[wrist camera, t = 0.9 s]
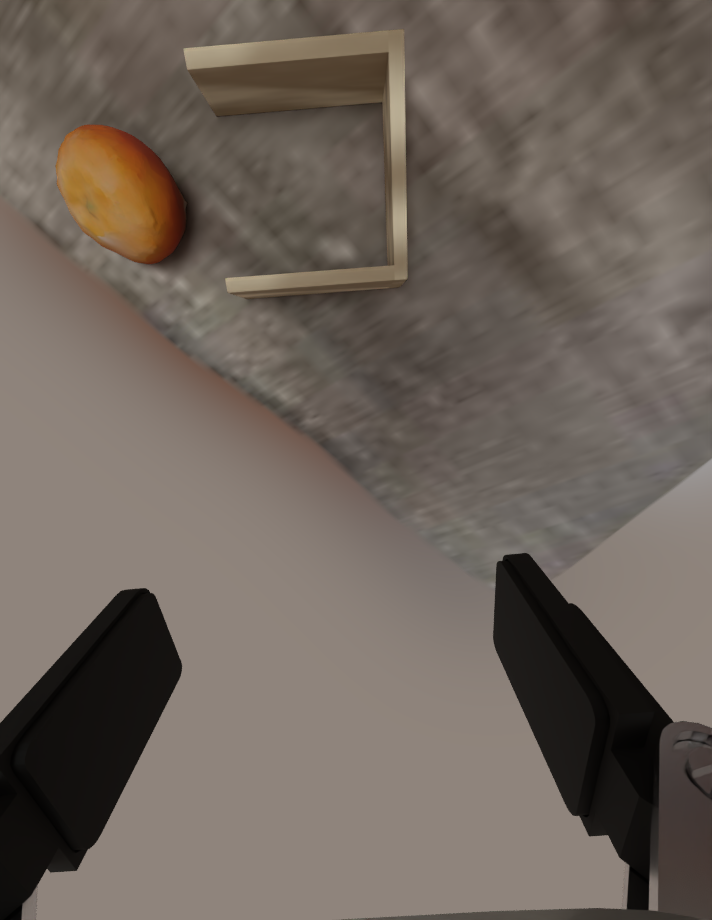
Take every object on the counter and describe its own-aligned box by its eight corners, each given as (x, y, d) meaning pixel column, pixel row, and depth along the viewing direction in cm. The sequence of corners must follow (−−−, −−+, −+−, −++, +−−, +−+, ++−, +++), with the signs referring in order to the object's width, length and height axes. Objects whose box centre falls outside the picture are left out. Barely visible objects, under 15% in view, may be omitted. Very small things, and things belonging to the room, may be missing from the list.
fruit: (223, 183, 27) (147, 197, 22) (198, 265, 32) (132, 292, 27) (131, 93, 25) (23, 84, 20) (121, 197, 31) (35, 211, 25)
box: (213, 99, 26) (183, 48, 21) (394, 84, 26) (404, 29, 21) (246, 298, 31) (227, 292, 26) (399, 287, 31) (407, 278, 26)
